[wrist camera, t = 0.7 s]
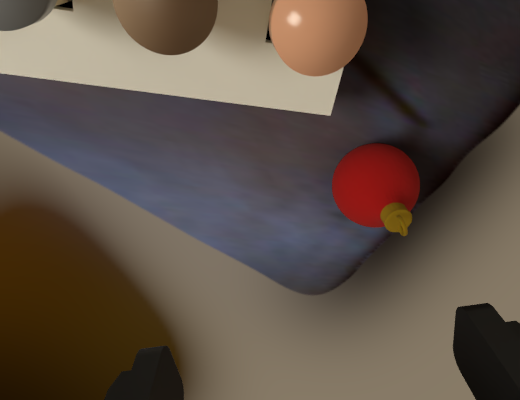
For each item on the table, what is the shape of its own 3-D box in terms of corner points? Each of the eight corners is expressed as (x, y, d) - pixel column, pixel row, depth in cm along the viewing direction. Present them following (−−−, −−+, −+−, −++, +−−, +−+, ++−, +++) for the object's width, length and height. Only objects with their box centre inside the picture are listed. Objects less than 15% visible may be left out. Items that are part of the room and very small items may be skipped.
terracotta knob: (253, 44, 25) (264, 69, 20) (266, -41, 23) (282, -38, 17) (323, 55, 26) (351, 82, 21) (342, -26, 23) (380, -19, 18)
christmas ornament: (315, 145, 34) (349, 208, 25) (394, 119, 33) (455, 175, 25) (331, 207, 37) (365, 280, 29) (402, 184, 37) (457, 253, 28)
